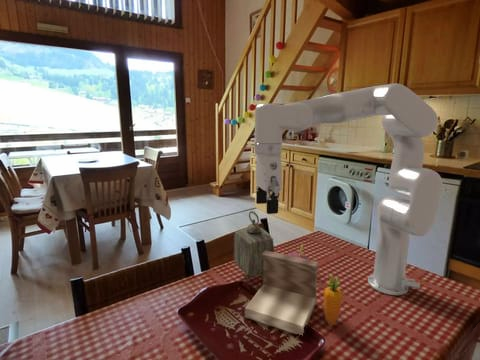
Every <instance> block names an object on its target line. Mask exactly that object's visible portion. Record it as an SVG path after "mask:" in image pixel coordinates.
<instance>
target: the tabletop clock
mask: <svg viewBox="0 0 480 360" xmlns="http://www.w3.org/2000/svg"><path fill="white" fill-rule="evenodd" d="M251 214H253V215H254V216H255V218H256V219H257V222H256V219H252V218H251ZM248 218H249V221H250V222H251V223H250V224H248V225H247V226H246V227H245V228H239V229H238V230H236V231H235V232H234V234H233V259H234V262H235V264H236V266H237V267H238V268H239V269H240V270H241V271H242V272H243V273H244V274H245V275H244V278H245V280H246V281H247V280H250V277H256V276H261V277H262V278H263V273H264V259H262V253H263V252H264V251H265V250H266V251H271V252H275V248H274V247H275V245H274V238H273V237H272V235H271V234H270V232H267V230H265V229H263V228H262V227H260V225H259V224H260V223H259V222H260V220H259V219H260V218H259V215H258V214H257V213H256V212H255V211H253V210H251V211H249V213H248Z"/></svg>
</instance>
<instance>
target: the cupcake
mask: <svg viewBox="0 0 480 360" xmlns="http://www.w3.org/2000/svg"><path fill="white" fill-rule="evenodd" d="M303 247H304V243H301V246H300V250H299V252H298V251H297V252H294V251H293V252H290V253H288V254H287V255H289V256H294V257H298V258H303V259H308V260H310V259H309V258H308V256H307V255H305V253H303V249H304V248H303Z"/></svg>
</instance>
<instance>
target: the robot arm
mask: <svg viewBox="0 0 480 360" xmlns="http://www.w3.org/2000/svg"><path fill="white" fill-rule="evenodd" d="M378 116H382V117H381V126H382V127H383V130H384V131H385V132H386V134H387V135H389V137H390V140H392V143H393V155H392V161H391V165H390V170H389V175H388V187H389V188H390V189H391V190H392V191H393V192H395V193H398V194H401V195H403V196H406V197H409V198H410V199H407V198H404V197H400V196H397V195H389V196H386V197H383V198H382V199H381V200H380V201H379V203H378V205H377V210H376V213H377V216H376V217H377V225H378V227H377V240H376V249H375V256H374V257H375V258H374V267H373V273H372V274H370V275H368V277H367V283H368V284H369V286H370V287H371V288H373V289H374V290H376V291H377V292H380V293H383V294H385V295H389V296H401V295H405V294H407V293H408V292H409V288H412V289H417V290H420V288H421V283H420V282H417V281H416V279H414V278H408V276H407V275H406V269H407V261H408V254H409V247H410V235H412V236H415V237H423V236H426V235H428V234H429V232H431V230H432V229H433V227H434V224H435V222H436V219H437V215H438V212H439V211H438V210H439V207H440V203H441V198H442V196H443V188H444V185H443V180H442V177H441V175H440V174H439V173H438V172H436V171H435V170H432V169H430V168H426V167H423V164H424V158H425V152H426V151H425V150H426V148H425V147H426V146H425V143H424V139H423V138H426V137H429V136H430V135H432V134H433V133H434V132H435V131H436V130H437V127H438V125H439V117H438V115H437V112H436V111H435V109H434V108H433V107H431V106H430V105H429V104H428V103H427V102H426V101H425V100H423V99H422V98H421V97H420V96H419V95H417V93H415V92H413V90H411V89H410V88H409V87H408V86H406V85H404V84H401V83H388V84H380V85H373V86H369V87H363V88H357V89H353V90H352V89H351V90H347V91H341V92H336V93H332V94H328V95H324V96H320V97H315V98H312V99H305V100H300V101H299V100H298V101H296V102H295V101H294V102H289V103H284V104H279V103H259V104H257V105H256V106H255V111H254V155H255V156H256V162H255V167H256V168H255V184H256V187H255V189H256V192H255V193H256V194H255V195H256V196H255V197H256V198H255V200H256V202H255V203H256V204H257V205H263V204H266V214H267V215H271V214H272V215H275V214H278V213H279V201H280V195H281V194H280V191H282V190H283V187H282V186H283V183H282V182H283V179H282V178H283V176H282V175H283V173H282V168H283V167H282V158H281V156H282V152H283V151H282V145H283V144H282V143H283V130H285V131H286V130H287V131H292V132H303V131H305V130H307V129H309V128H310V127H311V126H312V125H317V124H342V123H347V122H352V121H353V122H354V121H356V120H361V119H365V118H371V117H378Z"/></svg>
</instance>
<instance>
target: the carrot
mask: <svg viewBox="0 0 480 360" xmlns="http://www.w3.org/2000/svg"><path fill="white" fill-rule="evenodd" d="M329 279H330V280H328V282H326V283H327V284H326V285H327V286H328V287H326V288H325V289H324V291H323V306H322V307H323V313H324V317H325V320H326V322H327V324H328V325H329V327H332V326H334V324H335V323H336V322H337V320H338V318H339V315H340V312H341V308H342V303H343V297H344V296H343V294H344V293H343V292H342V290H340V288H338V287H339V286H340V283H339V279H338V278H336V277H335V279H334V276H333V274H330V275H329Z"/></svg>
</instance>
